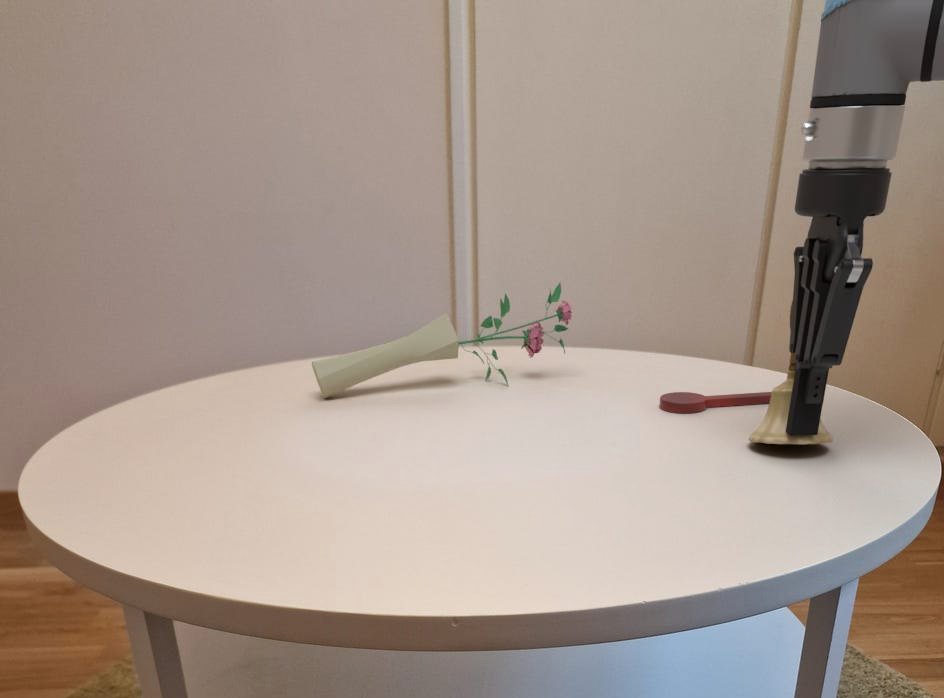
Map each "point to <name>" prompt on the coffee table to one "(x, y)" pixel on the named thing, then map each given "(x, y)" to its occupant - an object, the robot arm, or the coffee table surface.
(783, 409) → the hand bell
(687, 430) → the coffee table surface
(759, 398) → the spoon
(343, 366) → the flower vase
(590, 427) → the coffee table surface
